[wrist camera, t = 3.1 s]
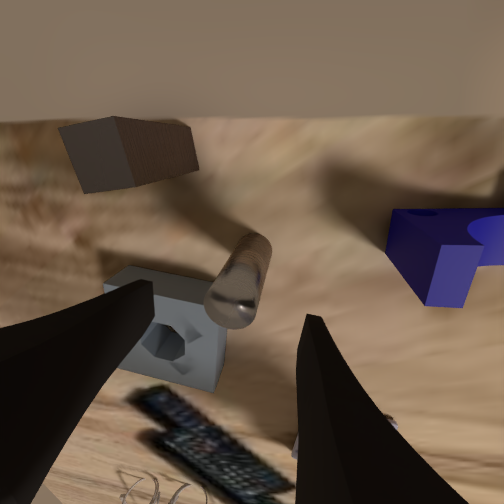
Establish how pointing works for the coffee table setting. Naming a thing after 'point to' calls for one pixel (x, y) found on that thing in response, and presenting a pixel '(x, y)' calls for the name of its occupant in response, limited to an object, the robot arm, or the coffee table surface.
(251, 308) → the round bit
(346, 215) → the coffee table surface
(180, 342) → the socket block
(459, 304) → the blue arched block
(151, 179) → the square bit
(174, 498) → the eyeglasses
